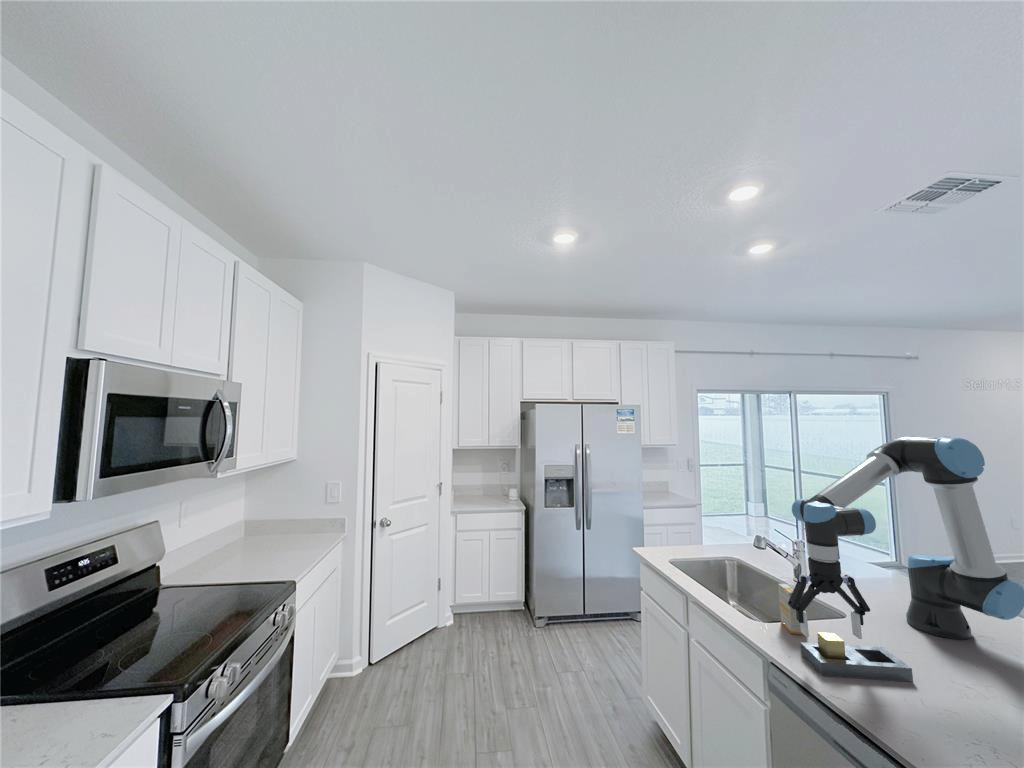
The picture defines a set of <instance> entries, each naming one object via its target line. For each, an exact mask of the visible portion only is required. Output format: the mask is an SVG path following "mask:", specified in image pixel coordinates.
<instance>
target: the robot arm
mask: <svg viewBox="0 0 1024 768" xmlns="http://www.w3.org/2000/svg"><path fill="white" fill-rule="evenodd" d="M985 461H986V460H985V458H984V454H983V453H982V451H981V450H980V448H979V447H978V446H977V445H976V444H975V443H974V442H971V441H970V440H967V439H965V438H963V437H953V436H917V435H916V436H915V435H914V436H913V435H910V436H909V435H907V436H903V437H898V438H895V439H892V440H890V441H887V442H885V443H883V444H882V445H880V446H878V447H876V448H874V449H873V450H872V451H870V452H869V453H868V454H866V459H864V461H862V462H860V463H859V464H858V465H856V466H855V467H853V468H852V469H850V470H849V471H847V472H846V473H845V474H844V475H841V477H840V478H838V479H836V480H835V481H833V482H832V483H831V484H829V485H828V486H826V487H825V488H824V489H822V490H821V491H819V492H818V493H816V494H815V495H814V496H811V497H810V498H809V499H807V498H799V499H796V500H794V502H793V503H792V506H791V513H792V515H793V517H794V519H795V520H798V521H800V522H801V523H804V531H805V541H806V553H807V555H808V558H807V562H808V571H809V574H808V575H803V574H802V573H798V574H797V576H796V577H797V581H796V584H795V585H794V586H795V588H794V590H793V592H792V595H791V597H790V599H789V602H788V605H789V606H790V607H791V608H792V609H794V610H796V617H797V621H798V622H800V626H801V632H802V633H803V634H804V635H803V636H804V637H806V638H807V637H808V638H809V637H810V634H809V621H808V613H807V612H806V608H808V606H809V605H810V604H811V603H812V601H813V600H814V599H815V598H816V596H819V595H820V593H822V594H828V593H829V594H835V593H837V594H838V595H839V596H840V597H841V598H842V599H843V600H844V602H846V603H847V604H848V605H849V606H850V608H852V609H853V610H850V611H849V612H850V618H851V619H850V620H851V628H852V635H853V636H855V637H856V638H857V639H859V640H862V639H863V636H862V635H863V634H862V626H864V624H865V623H864V616H865V615H866V612H868V613H870V612H871V608H870V606H869V604H867V602H866V600H865V599H864V597H863V595H862V593H861V592H860V591H859V589H858V587H857V586H856V581H855V579H854V577H852V576H850V575H849V574H844V576H842V568H841V562H840V560H841V557H840V549H839V537H851V536H852V537H854V536H860V537H861V536H865V535H869V534H872V533H874V531H875V530H876V528H877V523H876V519H875V517H874V515H873V514H872V513H871V512H870V511H869V510H867V509H865V508H864V507H863V508H862V507H851V508H849V506H850V505H851V504H852V503H854V502H855V501H857V500H858V499H859V498H860V497H862V496H864V495H865V494H867V493H868V492H869V491H871V490H872V489H874V488H875V487H876V486H877V485H879V484H880V483H882V482H883V481H885V480H886V479H887V478H895V477H896V476H898V475H900V474H902V473H905V472H907V473H908V472H909V473H911V472H912V473H913V472H915V473H921V474H922V477H923V480H924V483H926V484H928V485H930V486H932V488H933V491H934V495H935V498H936V501H937V505H938V508H939V512H940V515H941V519H942V521H943V525H944V529H945V532H946V536H947V538H948V543H949V545H950V549H951V553H952V556H953V557H949V556H942V555H934V554H914V555H913V554H912V555H910V556H908V557H907V558H908V559H907V570H908V571H907V573H908V581H909V587H910V598H911V599H910V602H909V606H908V609H907V612H906V613H905V616H906V622H907V623H908V625H910V626H912V628H915V629H917V630H919V631H922V632H924V633H927V634H931V635H933V636H937V637H942V638H944V639H945V638H947V639H952V640H968V639H971V638H972V637H973V634H972V629H971V626H970V624H969V622H968V620H967V619H966V616H965V614H964V612H963V610H962V608H961V607H963V608H966V609H967V608H968V609H970V610H973V611H975V612H979V613H981V614H984V615H985V616H987V617H993V618H996V619H999V620H1004V621H1009V620H1013V619H1015V618H1017V617H1018V616H1019V615H1020V614H1021V613H1022V611H1023V609H1024V588H1023V586H1022V585H1021V584H1019V583H1018V582H1016V581H1015V580H1012V579H1009V578H1008V574H1007V570H1006V569H1005V568H1004V567H1003V566H1002V565H1000V564H998V563H997V562H996V560H995V556H994V553H993V548H992V545H991V543H990V539H989V536H988V533H987V530H986V525H985V522H984V520H983V516H982V513H981V510H980V505H979V503H978V500H977V499H978V498H977V495H976V493H975V490H974V487H973V486H974V484H976V483H977V482H978V481H979V479H978V477H979V476H980V475H982V474H983V472H985V471H984V470H985V468H984V466H985V465H986V462H985ZM809 582H810V584H809ZM808 584H809V585H808ZM842 584H845V585H846V587H847V588H848V590H849V591H850V593H851V594H852V596H853V597H854V600H855V601H856V602H855V601H854V600H853V599H852V598H851V597H850V596H849V595H848V594H847V593H846V591H845V590H844V589H843V588H842ZM807 585H808V586H807ZM806 587H807V589H806ZM805 590H806V591H805ZM803 593H804V595H803ZM802 595H803V596H802ZM804 610H805V611H804Z"/></svg>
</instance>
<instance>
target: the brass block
mask: <svg viewBox="0 0 1024 768" xmlns="http://www.w3.org/2000/svg"><path fill="white" fill-rule="evenodd" d="M816 633H817V643H818V649H819V653H820V654H821V655H822V656H823V657H824V658H825V659H836V660H846V657H845V645H846V644H845V640H843V639H842V638H841V637H840V636H838V635H837V634H836V633H835V632H818V631H817V632H816Z"/></svg>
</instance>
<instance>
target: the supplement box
mask: <svg viewBox="0 0 1024 768" xmlns="http://www.w3.org/2000/svg"><path fill="white" fill-rule="evenodd" d="M777 586H778V597H779V598H778V599H779V609H780V610H779V611H780V623H781V624H782V623H785V624H782V625H783V626H784V627H785V629H786V630H788V631H789V633H791V634H793V635H803V636H805V635H804V634H803V633H802V632H801V626H800V622H798V621H797V617H796V610H794V609H792V608H791V607H790V606H789V605H788V602H789V599H790V597H791V595H792V592H793V590H794V588H795V586H796V585H794V584H792V583H791V584H790V583H778V585H777ZM804 593H805V592H803V595H804ZM803 595H802V596H803ZM804 611H805V612H806V609H805V610H804Z"/></svg>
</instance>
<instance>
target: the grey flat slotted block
mask: <svg viewBox="0 0 1024 768" xmlns="http://www.w3.org/2000/svg"><path fill="white" fill-rule="evenodd" d="M799 645H800V655H801V656H802V658H804V659H805V661H807V662H808V664H810V665H811V667H812V668H813V669H815V670H816V672H818V674H819V675H820V676H821V677H833V678H846V679H847V678H848V679H860V680H877V681H888V682H889V681H892V682H903V683H905V682H906V683H914V677H913V676H914V675H913V668H912V667H911V666H909V664H907V663H905V662H904V661H902V660H901V659H900V658H898V657H897V656H896V655H894V654H893V653H892V652H890V651H889V650H887V649H886V648H884V647H883V646H866V645H865V646H864V645H854V644H853V645H852V644H851V645H849V644H844V645H845V657H846V660H836V659H825V658H824V657H823V656H822V655H821V654H820V653H819V649H818V642H817V643H814V642H802V641H801V642H800V643H799Z"/></svg>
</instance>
